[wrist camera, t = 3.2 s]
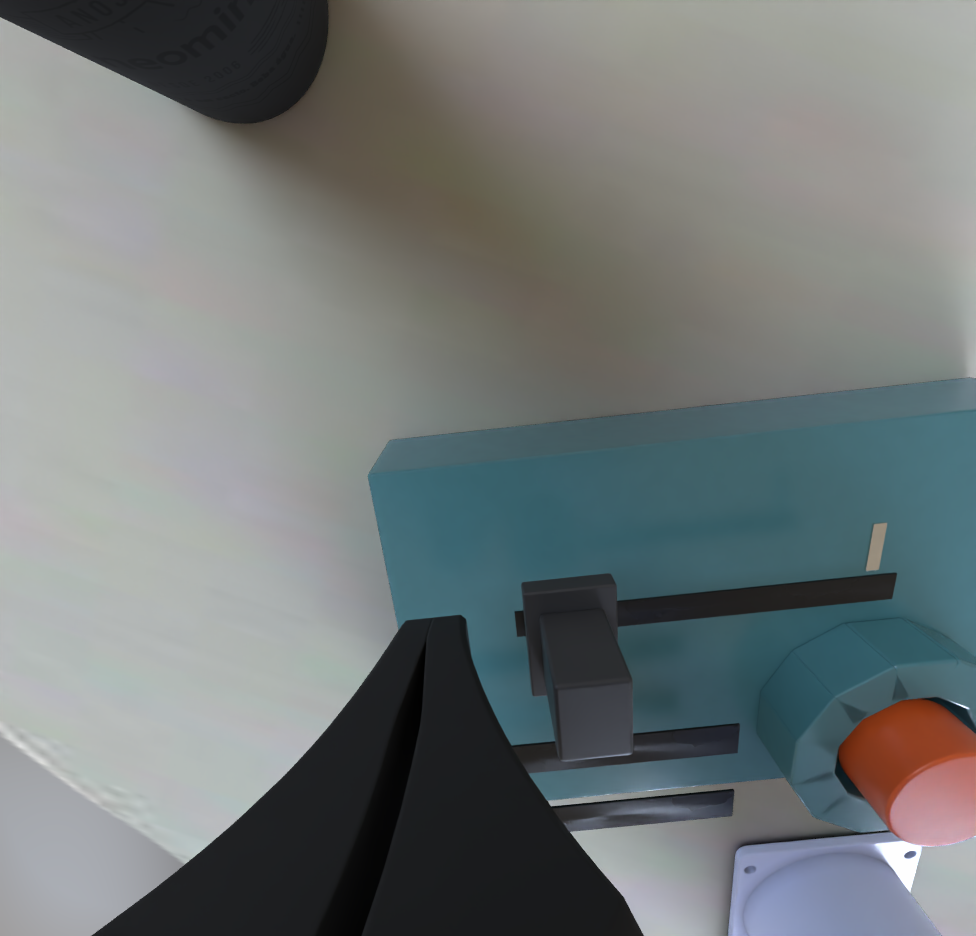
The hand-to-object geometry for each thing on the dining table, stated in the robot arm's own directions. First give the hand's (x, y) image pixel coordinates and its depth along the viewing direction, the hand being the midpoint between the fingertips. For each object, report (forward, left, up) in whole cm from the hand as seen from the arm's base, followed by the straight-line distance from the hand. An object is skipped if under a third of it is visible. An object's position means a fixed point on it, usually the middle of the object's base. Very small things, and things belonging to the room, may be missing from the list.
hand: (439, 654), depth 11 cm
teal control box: (-2, -7, -6) cm, 10 cm away
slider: (0, -3, -1) cm, 3 cm away
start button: (-6, -12, -1) cm, 13 cm away
